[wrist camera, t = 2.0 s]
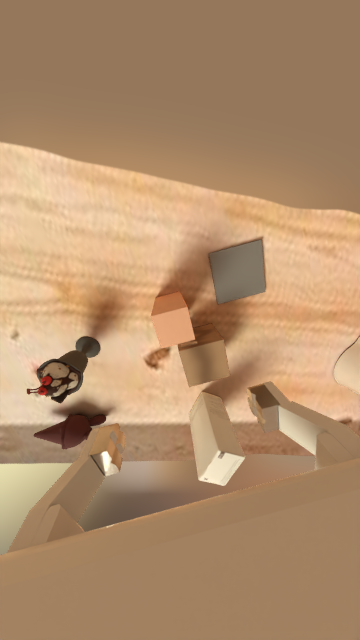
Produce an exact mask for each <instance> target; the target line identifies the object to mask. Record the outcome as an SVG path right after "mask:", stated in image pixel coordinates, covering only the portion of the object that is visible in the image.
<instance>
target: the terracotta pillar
mask: <svg viewBox="0 0 360 640" xmlns="http://www.w3.org/2000/svg"><path fill="white" fill-rule="evenodd" d="M151 318H152V321H153V324H154V327H155V330H156V333H157V336H158V340H159V343H160V346H161V348H165V347H169V346H173V345H176V344H180V343H184V342H188V341H192V340H195V336H194V332H193V328H192V324H191V320H190V316H189V311H188V307H187V305H186V303H185V301H184V299H183V297H182V295H181V293H180V291H179V292H175V293H172V294H168V295H164V296H160V297H157V298H156V299H155V302H154V306H153V310H152V314H151Z"/></svg>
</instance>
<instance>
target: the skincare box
mask: <svg viewBox="0 0 360 640" xmlns="http://www.w3.org/2000/svg"><path fill="white" fill-rule="evenodd" d="M189 418H190V425H191V432H192V438H193V445H194V452H195V458H196V465H197V472H198V479H199V480H201V481H206V482H210V483H215V484H219V485H224V486H225V485H226V483H227V482H228V481H229V479H230V478H231V476H232V475H233V474H234V472H235V471H236V469H237V468H238V467H239V465H240V464H241V463H242V461H243V460H244V459H245V455H244V453H243V450H242V448H241V445H240V443H239V441H238V438H237V436H236V433H235V431H234V428H233V426H232V424H231V421H230V419H229V416H228V414H227V411H226V409H225V407H224V404H223V402H222V399H221V398H220V397H218V396H215V395H212V394H209V393H206V392H203V391H202V392H201V394H200V395H199V397H198V399H197V401H196V402H195V404H194V406H193V408H192V409H191V411H190V413H189Z"/></svg>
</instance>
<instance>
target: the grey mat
mask: <svg viewBox="0 0 360 640" xmlns="http://www.w3.org/2000/svg"><path fill="white" fill-rule="evenodd" d="M209 258H210V264H211V270H212V276H213V281H214V287H215V293H216V298H217V304H221V303H225V302H229V301H232V300H236V299H240V298H244V297H248V296H251V295H255V294H259V293H263V292H265V279H264V265H263V250H262V240H258V241H254V242H250V243H247V244H243V245H239V246H235V247H232V248H228V249H224V250H220V251H217V252H213V253H209Z"/></svg>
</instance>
